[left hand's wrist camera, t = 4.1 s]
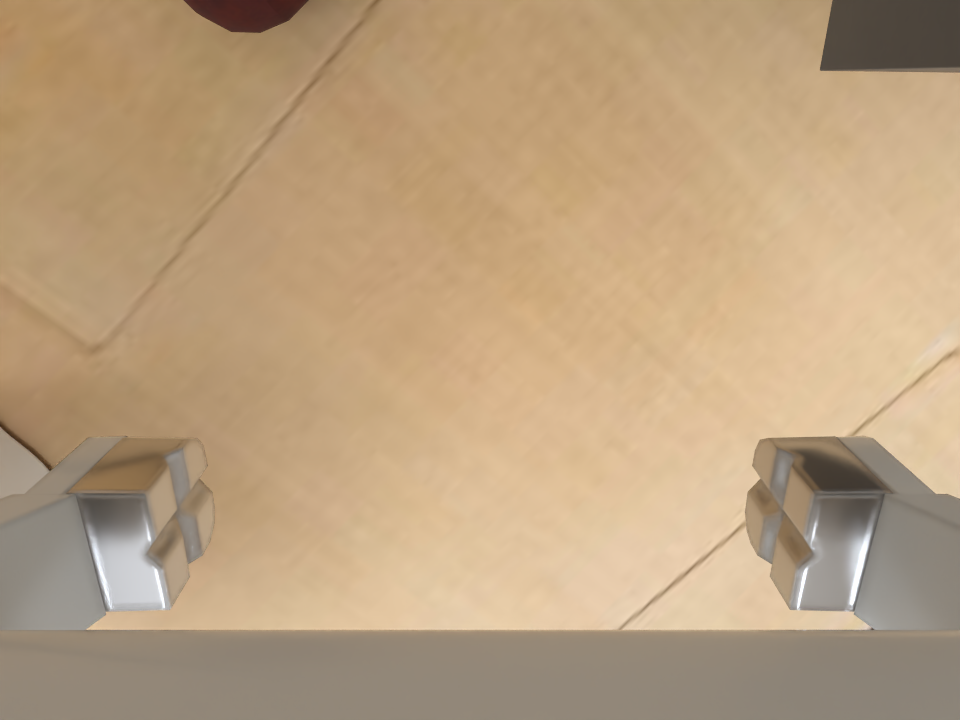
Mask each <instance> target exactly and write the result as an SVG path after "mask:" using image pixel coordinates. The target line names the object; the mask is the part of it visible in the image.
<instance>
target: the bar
mask: <svg viewBox="0 0 960 720" xmlns="http://www.w3.org/2000/svg"><path fill="white" fill-rule="evenodd" d="M820 70H821V71H886V72H960V0H833V1H832V7H831V12H830V18H829V23H828V28H827V34H826V39H825V45H824V50H823V56H822V61H821V66H820Z"/></svg>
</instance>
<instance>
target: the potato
mask: <svg viewBox="0 0 960 720" xmlns="http://www.w3.org/2000/svg"><path fill="white" fill-rule="evenodd" d="M184 1H185V2H186V3H187V4H188V5H189V6H190V7H191V8H192V9H193V10H194V11H195V12H196V13H198V14H200V15H201V16H203V17H205V18H206V19H208V20H210V21H212V22H214V23H216V24H218V25H220V26H221V27H223V28H225V29H227V30H229V31H231V32H253V33H261V32H263V31H265V30H268V29H270V28H272V27H275V26H277V25H279V24H282V23H284V22H286V21H288V20H290V19H291V18H292V17H293V16H294V15H295V14H296V12H297V11H298V10H299V9H300V8H301V7H302V6H303V5H304V4H305V3H306V2H307V1H308V0H184Z"/></svg>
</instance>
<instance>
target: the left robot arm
mask: <svg viewBox="0 0 960 720" xmlns="http://www.w3.org/2000/svg"><path fill="white" fill-rule="evenodd" d="M207 466H208V464H207V460H206V455H205V450H204V445H203V444H202V443H201V442H200V441H199V440H198V438H168V437H127V436H109V437H89V438H87V439H86V440H85V441H84V442H82V443H81V444H80V445H79V446H78V447H77V448H76V449H75V450H73V451H72V452H71V453H70V454H69V455H68V456H67V457H65V458H64V459H63V460H62V461H61V462H60V463H59V464H58V465H56V466H55V467H54V468H53V469H52V470H51V471H49V470H48V468H47V467H46V466H45V465H44V464H43V463H42V462H41V461H40V460H39V459H38V458H37V457H36V456H35V455H33V454H32V453H31V452H30V451H29V450H28V449H26V448H25V447H24V446H22V445H21V444H20V443H19V442H17V441H16V440H15V439H14V438H12V437H11V436H10V435H9V434H8V433H6V432H5V431H4V430H3V429H2V428H1V427H0V720H960V499H959V498H956V497H954V496H951V495H948V494H935V493H934V492H933V491H932V490H931V489H930V488H929V487H927V486H926V485H925V484H924V483H923V482H922V481H921V480H920V479H918V478H917V477H916V476H915V475H914V474H913V473H912V472H911V471H909V470H908V469H907V468H906V467H905V466H904V465H903V464H901V463H900V462H899V461H898V460H897V459H896V458H895V457H894V456H892V455H891V454H890V453H889V452H888V451H887V450H886V449H885V448H883V447H882V446H881V445H880V444H879V443H878V442H877V441H876V440H874V439H873V438H870V437H866V436H850V437H793V438H766V439H761V440H760V441H759V443H758V445H757V447H756V449H755V453H754V459H753V464H752V466H753V468H754V469H755V471H756V472H757V474H758V475H759V477H760V480H759V481H758V482H757V483H756V484H755V485H754V486H753V487H752V488H751V489H750V490H749V491H748V494H747V501H746V509H745V516H746V527H747V533H748V536H749V539H750V542H751V545H752V546H753V548H754V550H755V552H756V554H757V555H758V556H759V557H761V558H763V559H764V560H766V561H768V562H769V563H771V564H772V568H771V573H770V577H771V579H772V581H773V582H774V584H775V586H776V587H777V589H778V591H779V592H780V594H781V596H782V597H783V599H784V601H785V602H786V604H787V606H788V607H789V609H790V610H816V611H853V612H854V615H856V616H857V617H858V618H860V619H861V620H862V621H864V622H865V623H866V624H868V625H869V626H871V627H872V628H873V629H875V630H86V629H87V628H88V627H90V626H91V625H92V624H94V623H95V622H96V621H98V620H99V619H101V618H102V617H103V616H105V615H106V611H143V610H170V609H171V607H172V606H173V604H174V602H175V601H176V599H177V597H178V596H179V594H180V592H181V591H182V589H183V587H184V586H185V584H186V582H187V581H188V579H189V577H190V573H189V568H188V564H189V563H191V562H192V561H194V560H196V559H197V558H199V557H201V556H202V555H203V554H204V552H205V550H206V548H207V546H208V544H209V543H210V540H211V535H212V531H213V527H214V513H215V506H214V500H213V494H212V491H211V490H210V489H209V488H208V487H207V486H206V485H205V484H204V483H203V482H202V481H201V480H200V477H201V475H202V474H203V472H204V471H205V469H206V468H207Z"/></svg>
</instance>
